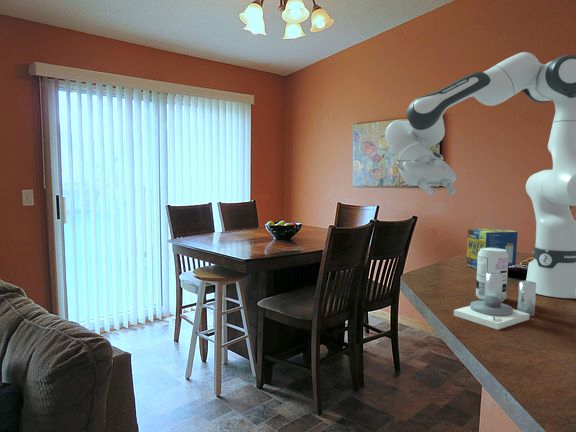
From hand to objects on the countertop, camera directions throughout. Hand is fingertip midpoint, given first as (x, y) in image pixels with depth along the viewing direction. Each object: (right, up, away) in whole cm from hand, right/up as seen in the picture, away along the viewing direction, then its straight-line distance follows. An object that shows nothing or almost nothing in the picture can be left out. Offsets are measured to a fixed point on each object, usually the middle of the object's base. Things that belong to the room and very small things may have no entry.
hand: (442, 193), depth 123 cm
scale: (+7, -33, -16) cm, 37 cm away
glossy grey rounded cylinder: (+8, -30, -14) cm, 34 cm away
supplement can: (+15, -32, +1) cm, 35 cm away
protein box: (+36, -28, +46) cm, 65 cm away
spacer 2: (+18, -33, -12) cm, 39 cm away
